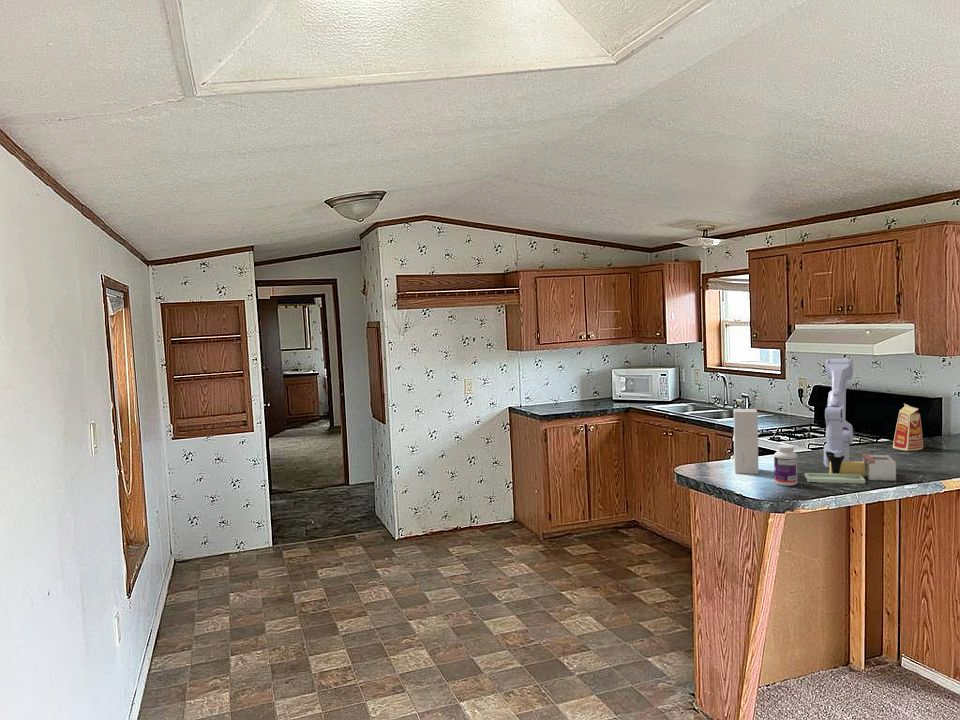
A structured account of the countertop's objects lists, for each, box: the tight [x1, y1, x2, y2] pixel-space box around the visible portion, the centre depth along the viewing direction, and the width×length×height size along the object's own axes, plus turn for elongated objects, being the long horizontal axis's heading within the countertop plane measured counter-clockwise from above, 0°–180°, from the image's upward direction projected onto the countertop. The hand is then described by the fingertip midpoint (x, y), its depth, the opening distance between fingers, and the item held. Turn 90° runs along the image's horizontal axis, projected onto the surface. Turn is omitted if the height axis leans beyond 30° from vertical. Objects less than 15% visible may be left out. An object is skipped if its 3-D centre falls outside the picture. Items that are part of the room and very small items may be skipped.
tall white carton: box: [733, 408, 759, 475], centre depth 313 cm, size 9×9×25 cm
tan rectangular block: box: [829, 460, 866, 478], centre depth 300 cm, size 12×3×6 cm, turn 74°
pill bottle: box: [773, 444, 798, 487], centre depth 290 cm, size 8×8×14 cm
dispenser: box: [861, 453, 897, 482], centre depth 297 cm, size 9×13×7 cm
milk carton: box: [892, 403, 924, 452], centre depth 345 cm, size 9×9×20 cm
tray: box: [804, 472, 866, 485], centre depth 294 cm, size 20×10×2 cm, turn 74°
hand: (834, 471), depth 301 cm, fingers open, 4 cm apart
